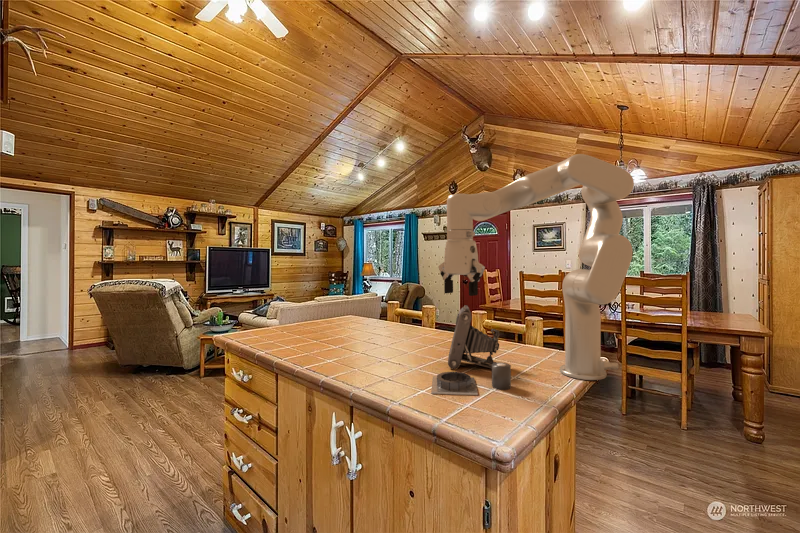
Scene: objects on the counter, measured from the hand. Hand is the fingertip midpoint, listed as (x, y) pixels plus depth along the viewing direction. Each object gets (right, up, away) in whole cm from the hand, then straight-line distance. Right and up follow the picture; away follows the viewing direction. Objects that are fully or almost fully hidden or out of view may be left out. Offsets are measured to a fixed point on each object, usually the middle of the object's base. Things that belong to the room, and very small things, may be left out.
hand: (460, 294), depth 106 cm
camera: (+6, -25, +12) cm, 28 cm away
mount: (-3, -25, -7) cm, 26 cm away
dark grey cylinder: (+10, -25, -8) cm, 28 cm away
